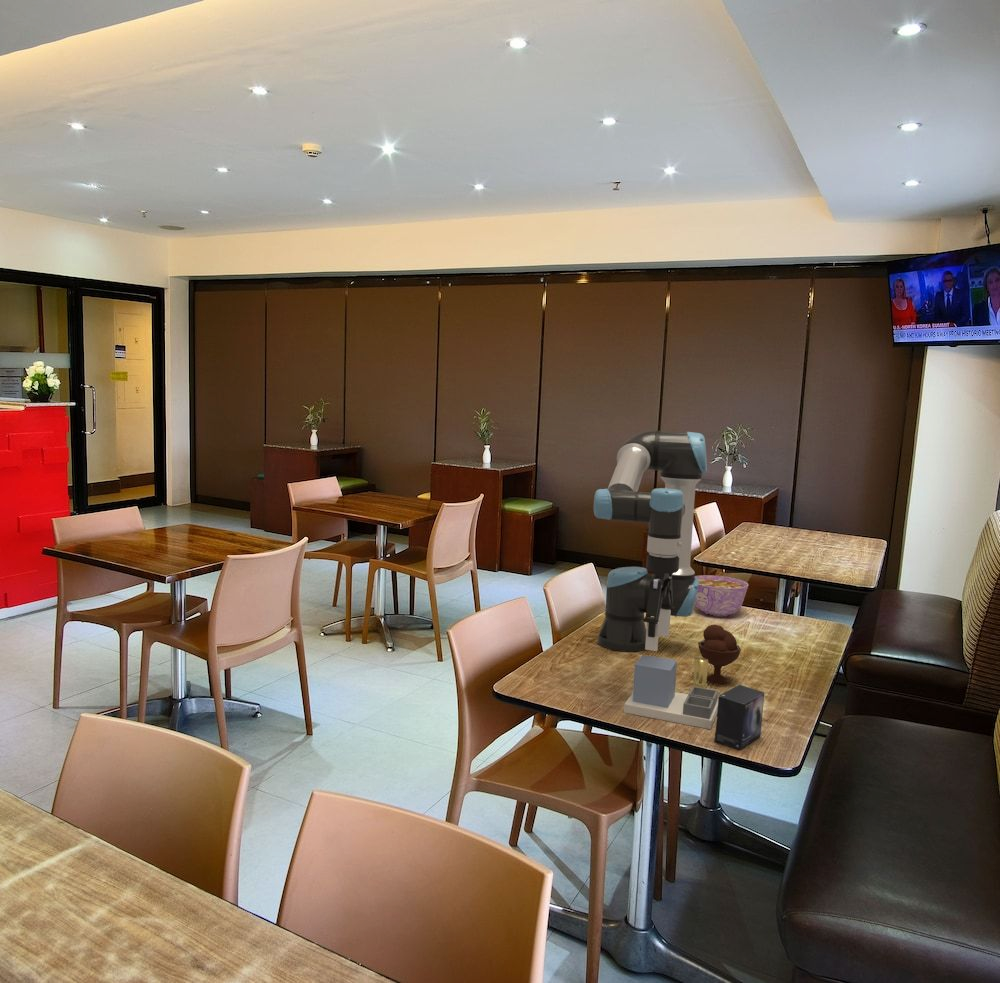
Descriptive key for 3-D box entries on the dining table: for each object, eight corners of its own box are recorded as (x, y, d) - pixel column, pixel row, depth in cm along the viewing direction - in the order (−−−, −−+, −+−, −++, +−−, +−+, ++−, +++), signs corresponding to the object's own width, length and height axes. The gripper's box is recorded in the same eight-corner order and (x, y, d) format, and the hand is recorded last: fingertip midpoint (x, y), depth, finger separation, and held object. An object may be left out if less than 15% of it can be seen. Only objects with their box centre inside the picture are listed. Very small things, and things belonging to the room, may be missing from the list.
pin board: (623, 712, 185) (625, 675, 184) (637, 693, 198) (639, 658, 197) (710, 729, 177) (713, 690, 176) (719, 708, 190) (721, 672, 189)
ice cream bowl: (716, 690, 202) (720, 633, 200) (687, 676, 212) (690, 621, 210) (746, 684, 207) (751, 629, 205) (717, 671, 217) (720, 618, 215)
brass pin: (691, 699, 195) (694, 660, 194) (693, 695, 198) (696, 656, 197) (704, 701, 194) (707, 662, 193) (706, 697, 197) (709, 658, 196)
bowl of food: (689, 618, 269) (691, 585, 268) (685, 604, 289) (687, 573, 288) (750, 623, 266) (752, 590, 265) (742, 608, 286) (744, 577, 284)
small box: (741, 751, 166) (745, 703, 165) (713, 741, 171) (716, 695, 170) (762, 737, 174) (766, 691, 173) (734, 728, 179) (738, 683, 177)
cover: (632, 701, 187) (634, 664, 186) (640, 689, 194) (642, 654, 193) (667, 707, 184) (670, 670, 183) (674, 696, 191) (677, 660, 190)
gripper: (668, 565, 172) (662, 659, 174) (688, 548, 195) (682, 632, 197) (634, 561, 175) (629, 654, 177) (658, 545, 198) (653, 627, 200)
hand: (657, 642), depth 187 cm, fingers open, 13 cm apart
